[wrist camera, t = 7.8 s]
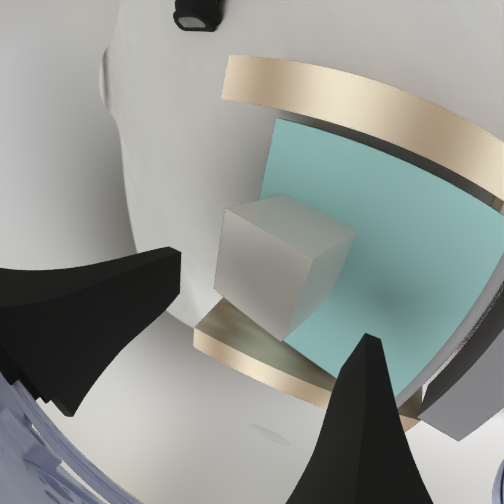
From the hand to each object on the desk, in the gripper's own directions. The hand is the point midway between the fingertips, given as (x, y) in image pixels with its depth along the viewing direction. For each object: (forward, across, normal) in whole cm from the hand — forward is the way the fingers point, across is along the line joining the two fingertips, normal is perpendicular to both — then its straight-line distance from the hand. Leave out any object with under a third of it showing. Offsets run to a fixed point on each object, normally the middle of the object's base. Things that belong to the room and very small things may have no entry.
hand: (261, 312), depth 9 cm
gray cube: (+5, 0, 0) cm, 5 cm away
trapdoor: (+7, -6, 0) cm, 9 cm away
